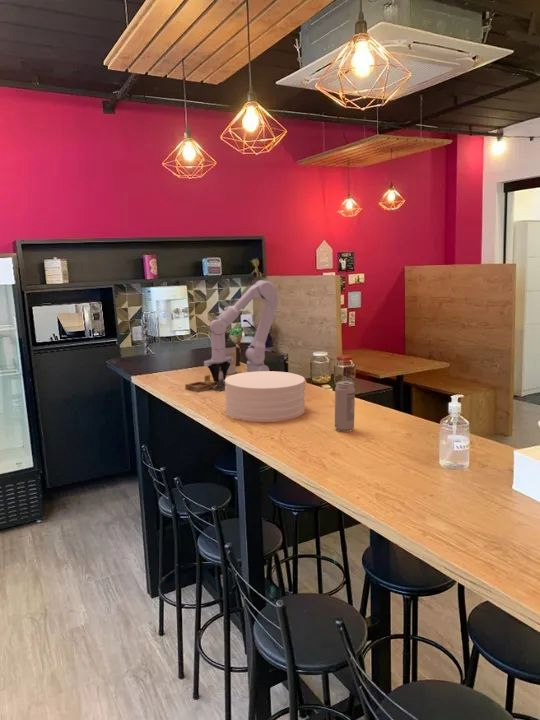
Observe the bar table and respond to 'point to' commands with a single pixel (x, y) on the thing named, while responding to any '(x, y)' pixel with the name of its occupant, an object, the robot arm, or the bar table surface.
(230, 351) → the coffee cup
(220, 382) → the peg
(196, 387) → the square wooden tray
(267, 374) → the plate stack
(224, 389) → the socket collar
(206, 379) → the golden l-shaped block
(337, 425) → the energy drink can
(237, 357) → the potted plant
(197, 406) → the bar table surface
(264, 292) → the robot arm
